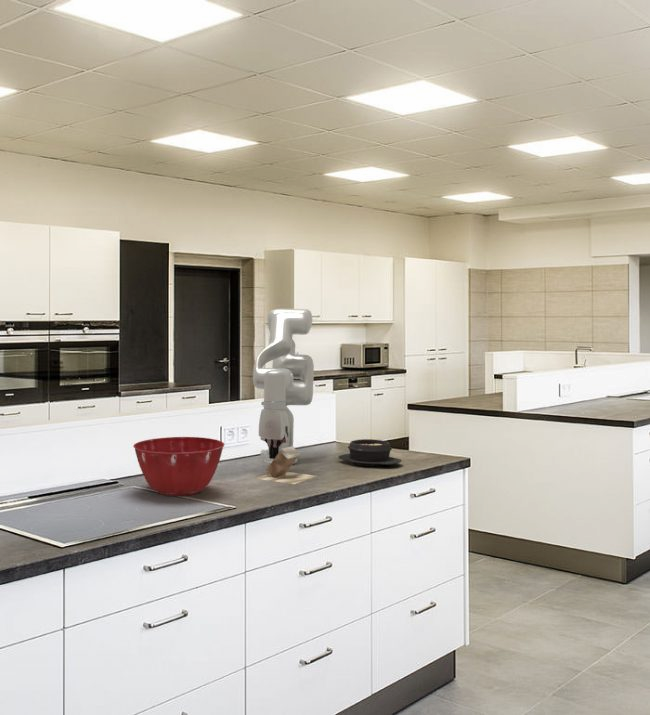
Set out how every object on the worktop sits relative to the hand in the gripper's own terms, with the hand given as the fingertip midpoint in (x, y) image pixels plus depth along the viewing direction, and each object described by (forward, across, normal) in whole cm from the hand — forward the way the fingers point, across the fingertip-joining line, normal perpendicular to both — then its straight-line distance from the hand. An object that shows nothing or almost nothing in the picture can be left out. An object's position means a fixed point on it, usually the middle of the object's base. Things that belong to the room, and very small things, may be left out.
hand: (273, 458), depth 287 cm
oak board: (+7, +5, 0) cm, 9 cm away
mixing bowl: (+7, -12, -36) cm, 39 cm away
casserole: (+7, +16, +42) cm, 46 cm away
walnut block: (+5, +1, 0) cm, 5 cm away
